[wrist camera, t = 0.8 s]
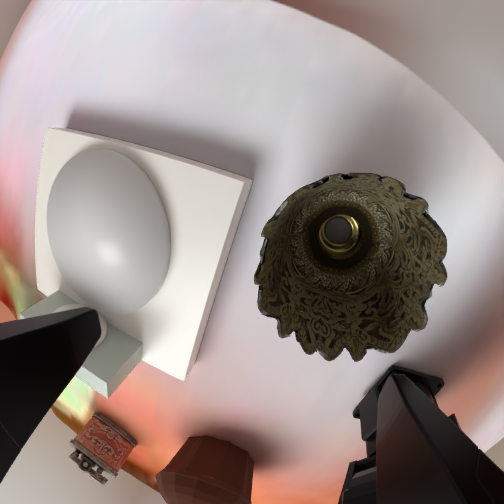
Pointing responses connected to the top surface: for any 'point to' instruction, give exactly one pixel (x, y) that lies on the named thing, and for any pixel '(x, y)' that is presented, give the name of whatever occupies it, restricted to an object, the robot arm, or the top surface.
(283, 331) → the ornate brown lamp shade
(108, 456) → the lighter
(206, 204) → the scale
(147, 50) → the top surface
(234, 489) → the muffin
